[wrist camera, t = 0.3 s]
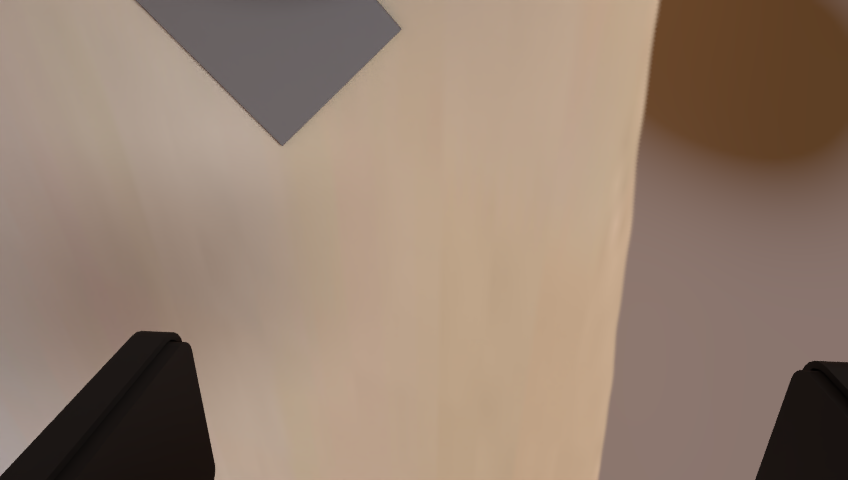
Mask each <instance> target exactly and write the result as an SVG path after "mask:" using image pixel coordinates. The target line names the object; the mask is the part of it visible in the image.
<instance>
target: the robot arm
mask: <svg viewBox="0 0 848 480" xmlns="http://www.w3.org/2000/svg"><path fill="white" fill-rule="evenodd" d="M214 477H215V463H214V458H213V453H212V448H211V443H210V438H209V433H208V428H207V423H206V418H205V413H204V408H203V403H202V398H201V393H200V388H199V383H198V378H197V373H196V368H195V363H194V358H193V353H192V349H191V346H190V345H189V343H186V342H182V340H181V338H180V336H179V335H178V334H176V333H174V332H152V331H140V332H136V333H135V334H134V335H133V336H132V337H131V338H130V339H129V340H128V341H127V342H126V343H125V344H124V345H123V346H122V347H121V348H120V349H119V350H118V351H117V353H116V354H115V355H114V356H113V357H112V358H111V359H110V360H109V361H108V362H107V363H106V364H105V365H104V366H103V367H102V369H101V370H100V371H99V372H98V373H97V374H96V375H95V376H94V377H93V378H92V379H91V380H90V381H89V382H88V383H87V384H86V386H85V387H84V388H83V389H82V390H81V391H80V392H79V393H78V394H77V395H76V396H75V397H74V398H73V399H72V400H71V402H70V403H69V404H68V405H67V406H66V407H65V408H64V409H63V410H62V411H61V412H60V413H59V414H58V415H57V416H56V418H55V419H54V420H53V421H52V422H51V423H50V424H49V425H48V426H47V427H46V428H45V429H44V430H43V431H42V432H41V434H40V435H39V436H38V437H37V438H36V439H35V440H34V441H33V442H32V443H31V444H30V445H29V446H28V447H27V448H26V450H25V451H24V452H23V453H22V454H21V455H20V456H19V457H18V458H17V459H16V460H15V461H14V462H13V463H12V464H11V466H10V467H9V468H8V469H7V470H6V471H5V472H4V473H3V474H2V475H1V476H0V480H214ZM755 480H848V362H826V361H812V362H809V363H808V364H807V365H805V367H804V368H803V370H799V371H797V372H795V373H794V374H793V376H792V378H791V381H790V384H789V387H788V390H787V392H786V395H785V398H784V401H783V403H782V406H781V409H780V412H779V415H778V417H777V420H776V423H775V426H774V429H773V432H772V434H771V437H770V440H769V443H768V446H767V449H766V451H765V454H764V457H763V460H762V462H761V466H760V468H759V471H758V474H757V476H756V479H755Z"/></svg>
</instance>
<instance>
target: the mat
mask: <svg viewBox="0 0 848 480" xmlns="http://www.w3.org/2000/svg"><path fill="white" fill-rule="evenodd" d="M136 1H137V2H138V3H139V4H140V5H141V6H142V7H143V8H144V9H145V10H146V11H147V12H148V13H149V14H150V15H151V16H152V17H153V18H154V19H155V20H156V21H157V22H158V23H159V24H160V25H161V26H162V27H163V28H164V29H165V30H166V31H167V32H168V33H169V34H170V35H171V36H172V37H173V38H174V39H175V40H176V41H177V42H178V43H179V44H180V45H181V46H182V47H183V48H184V49H185V50H186V51H187V52H188V53H189V54H191V55H192V56H193V57H194V58H195V59H196V60H197V61H198V62H199V63H200V64H201V65H202V66H203V67H204V68H205V69H206V70H207V71H208V72H209V73H210V74H211V75H212V76H213V77H214V78H215V79H216V80H217V81H218V82H219V83H220V84H221V85H222V86H223V87H224V88H225V89H226V90H227V91H228V92H229V93H230V94H231V95H232V96H233V97H234V98H235V99H236V100H237V101H238V102H239V103H240V104H241V105H242V106H243V107H244V108H245V109H246V110H247V111H248V112H249V113H250V114H251V115H252V116H253V117H254V118H255V119H256V120H257V121H258V122H259V123H260V124H261V125H262V126H263V127H264V128H265V129H266V130H267V131H268V132H269V133H270V134H271V135H272V136H273V137H274V138H275V139H276V140H277V141H278V142H279V143H280V144H281V145H282V146H283V145H284V144H285V143H286V142H287V141H288V140H289V139H290V138H291V137H292V136H293V135H294V134H295V133H296V132H297V131H298V130H299V129H300V128H301V127H302V126H303V125H304V124H305V123H306V122H307V121H308V120H309V119H311V118H312V117H313V116H314V115H315V114H316V113H317V112H318V111H319V110H320V109H321V108H322V107H323V106H324V105H325V104H326V103H327V102H328V101H329V100H330V99H331V98H332V97H333V96H334V95H335V94H336V93H337V92H338V91H339V90H340V89H341V88H342V87H343V86H344V85H345V84H346V83H347V82H348V81H349V80H350V79H351V78H352V77H353V76H354V75H355V74H356V73H357V72H358V71H359V70H361V69H362V68H363V67H364V66H365V65H366V64H367V63H368V62H369V61H370V60H371V59H372V58H373V57H374V56H375V55H376V54H377V53H378V52H379V51H380V50H381V49H382V48H383V47H384V46H385V45H386V44H387V43H388V42H389V41H390V40H391V39H392V38H393V37H394V36H395V35H396V34H397V33H398V32H399V31H400V30H401V28H400V27H399V26H398V24H397V23H396V22H395V21H394V20H393V19H392V17H391V16H390V15H389V14H388V13H387V12H386V10H385V9H384V8H383V7H382V6H381V5H380V3H379V2H378V1H377V0H136Z"/></svg>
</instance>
